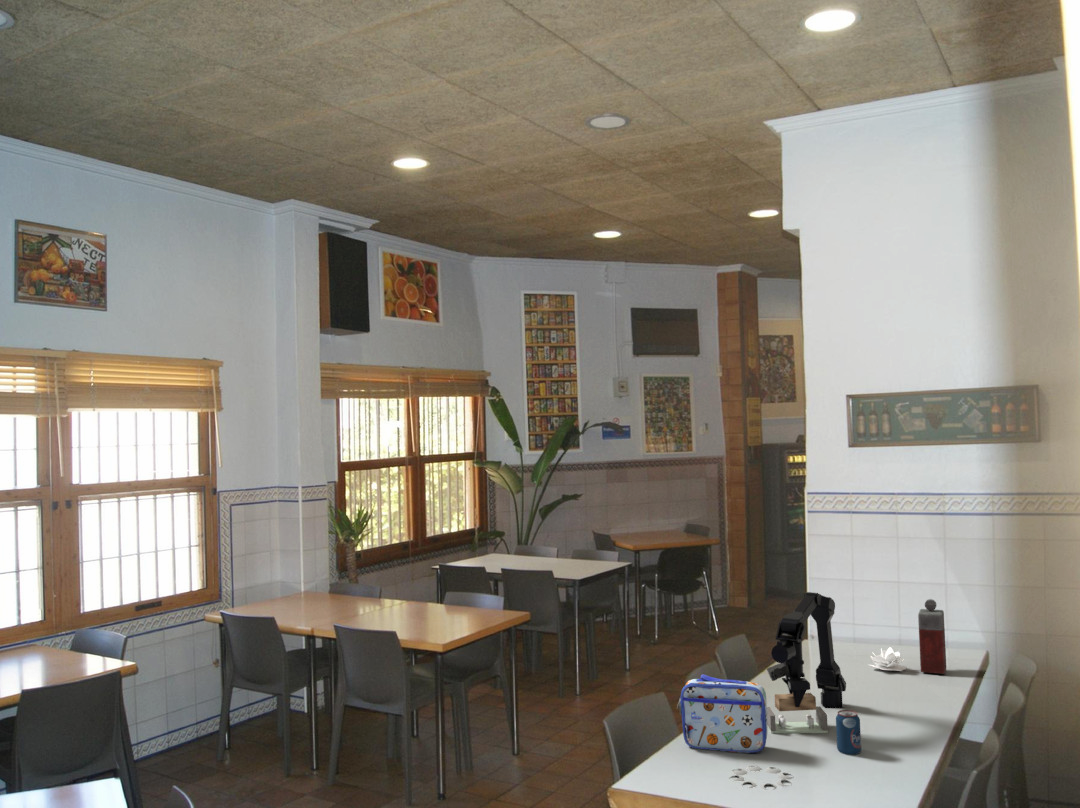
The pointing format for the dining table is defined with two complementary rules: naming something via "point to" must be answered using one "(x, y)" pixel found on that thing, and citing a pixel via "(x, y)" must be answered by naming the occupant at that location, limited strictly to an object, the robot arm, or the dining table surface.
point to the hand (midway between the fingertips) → (795, 704)
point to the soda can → (848, 732)
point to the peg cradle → (798, 723)
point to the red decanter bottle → (932, 639)
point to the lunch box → (724, 715)
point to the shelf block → (787, 702)
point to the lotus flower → (888, 660)
